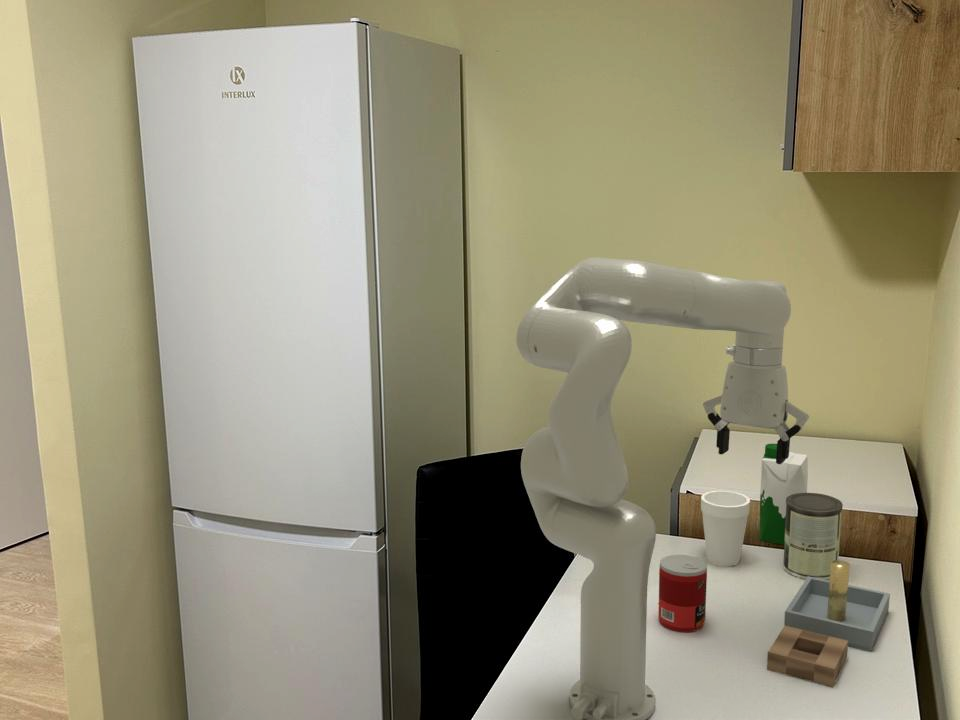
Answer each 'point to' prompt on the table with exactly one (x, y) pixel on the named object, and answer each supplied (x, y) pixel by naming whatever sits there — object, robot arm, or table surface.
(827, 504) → the coffee can
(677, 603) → the canned food
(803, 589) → the pin tray
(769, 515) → the milk carton
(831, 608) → the pin
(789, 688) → the table surface
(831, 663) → the pin bracket
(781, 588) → the table surface
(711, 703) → the table surface
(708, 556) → the foam cup
